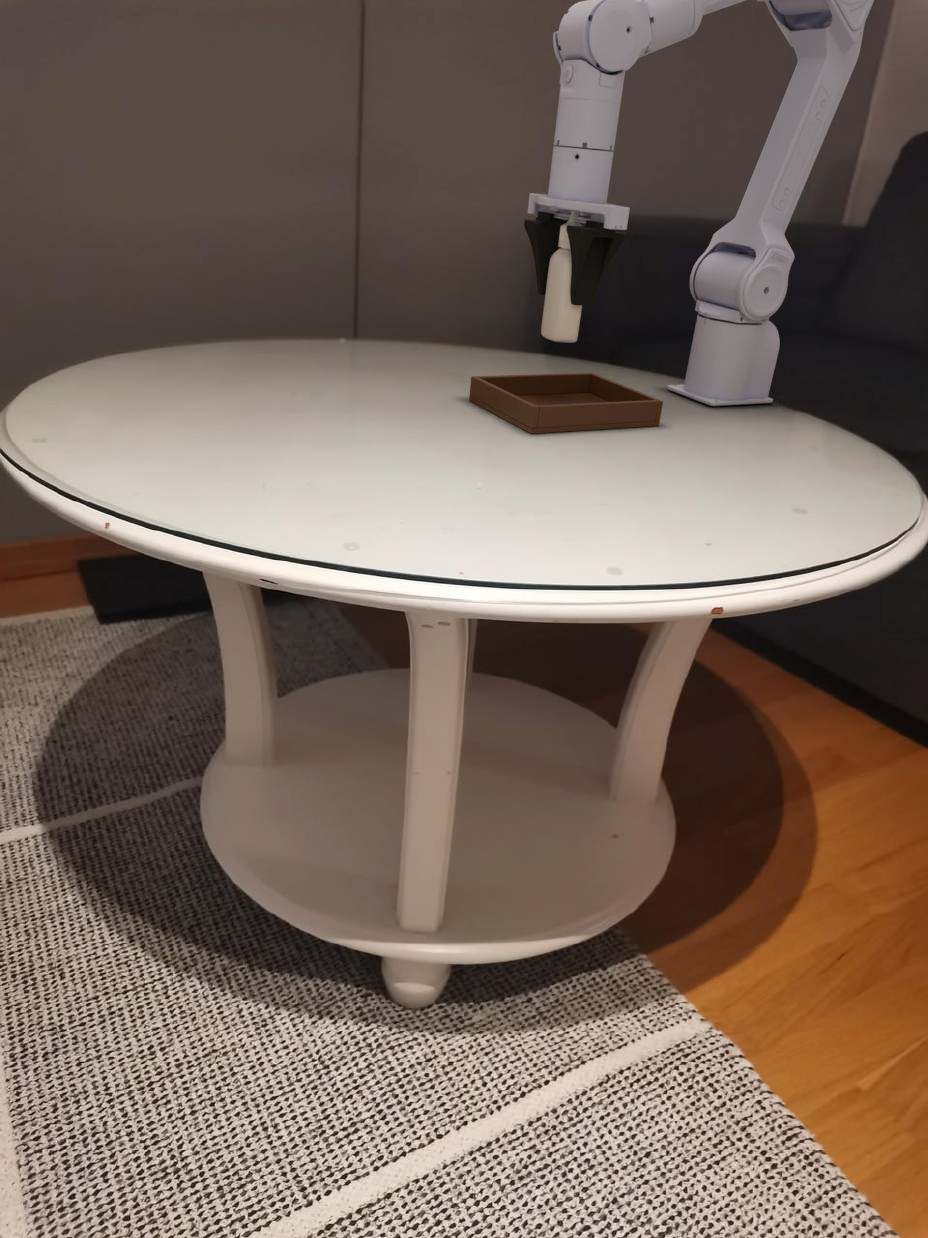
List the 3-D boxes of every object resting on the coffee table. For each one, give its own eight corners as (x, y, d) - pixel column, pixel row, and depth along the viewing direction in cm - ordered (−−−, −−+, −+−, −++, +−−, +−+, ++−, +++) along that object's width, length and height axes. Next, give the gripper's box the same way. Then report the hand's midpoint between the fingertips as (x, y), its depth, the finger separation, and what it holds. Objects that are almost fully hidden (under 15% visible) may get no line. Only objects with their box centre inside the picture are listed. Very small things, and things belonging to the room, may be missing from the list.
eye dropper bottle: (584, 336, 98) (602, 212, 93) (573, 345, 93) (591, 214, 88) (544, 331, 99) (559, 207, 94) (531, 339, 94) (546, 209, 89)
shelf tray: (589, 395, 104) (592, 372, 103) (659, 425, 94) (663, 400, 93) (468, 400, 97) (470, 376, 96) (531, 433, 87) (534, 407, 86)
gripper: (508, 141, 92) (494, 286, 99) (592, 148, 81) (570, 311, 87) (568, 148, 96) (551, 288, 102) (656, 155, 84) (631, 312, 90)
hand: (564, 299), depth 95 cm, fingers closed on eye dropper bottle, 5 cm apart
